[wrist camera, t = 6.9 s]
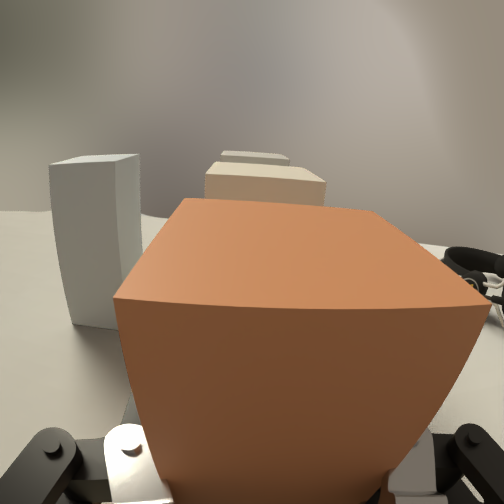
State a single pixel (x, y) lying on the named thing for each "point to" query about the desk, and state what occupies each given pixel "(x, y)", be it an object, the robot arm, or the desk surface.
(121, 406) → the desk surface
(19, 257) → the desk surface
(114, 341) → the desk surface
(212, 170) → the cream block
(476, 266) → the headset
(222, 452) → the rust block
